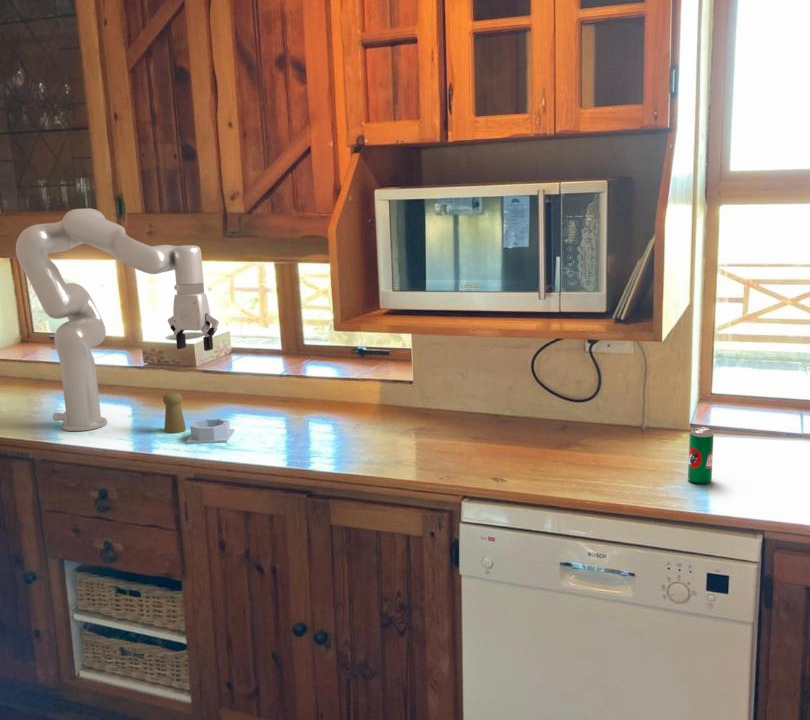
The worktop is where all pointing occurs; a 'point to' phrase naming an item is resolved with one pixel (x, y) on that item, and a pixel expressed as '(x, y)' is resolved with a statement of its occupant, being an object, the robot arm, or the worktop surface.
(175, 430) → the cork
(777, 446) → the worktop surface
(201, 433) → the grey octagonal holder
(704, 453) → the soda can
